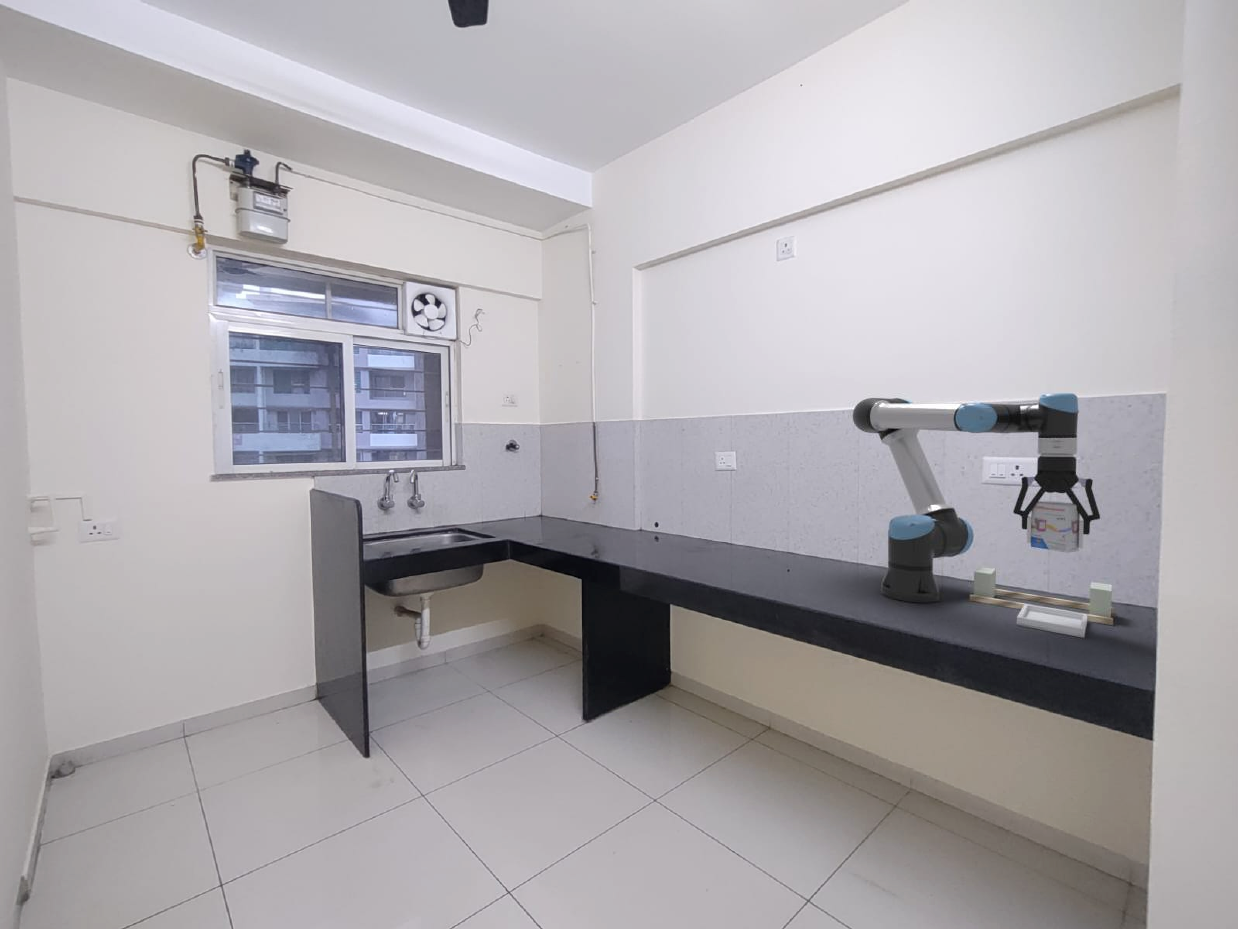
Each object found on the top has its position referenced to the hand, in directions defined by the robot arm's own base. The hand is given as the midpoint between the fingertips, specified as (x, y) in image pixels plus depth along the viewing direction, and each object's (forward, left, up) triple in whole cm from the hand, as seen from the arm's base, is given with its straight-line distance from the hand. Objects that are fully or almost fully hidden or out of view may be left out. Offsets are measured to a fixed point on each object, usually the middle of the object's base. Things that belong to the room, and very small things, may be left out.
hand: (1054, 544), depth 132 cm
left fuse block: (-16, +13, -20) cm, 29 cm away
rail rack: (-4, +13, -20) cm, 24 cm away
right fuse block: (+9, +13, -20) cm, 25 cm away
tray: (0, -2, -20) cm, 20 cm away
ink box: (0, 0, -1) cm, 1 cm away
